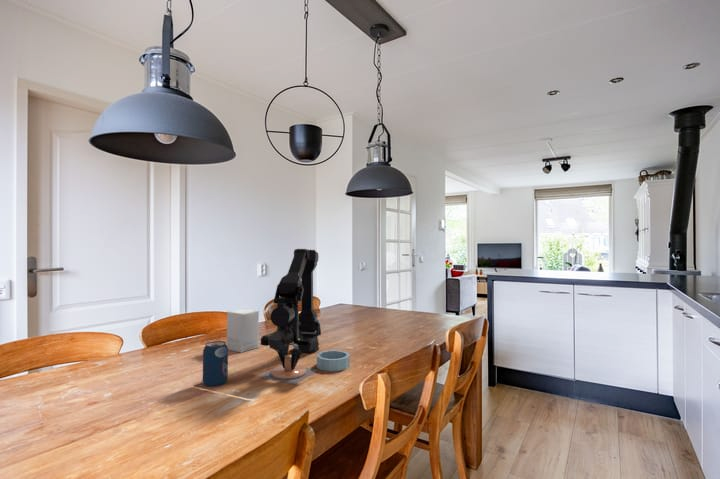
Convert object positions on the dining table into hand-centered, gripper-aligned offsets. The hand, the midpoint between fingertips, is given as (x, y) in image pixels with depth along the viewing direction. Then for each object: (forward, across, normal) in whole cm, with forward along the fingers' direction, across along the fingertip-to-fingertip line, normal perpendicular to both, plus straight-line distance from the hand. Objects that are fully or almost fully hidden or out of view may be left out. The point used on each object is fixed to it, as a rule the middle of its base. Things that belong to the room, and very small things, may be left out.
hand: (288, 368), depth 119 cm
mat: (+2, 0, 0) cm, 2 cm away
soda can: (+2, -15, -16) cm, 22 cm away
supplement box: (+2, -34, +17) cm, 38 cm away
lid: (+1, 0, 0) cm, 1 cm away
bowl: (+2, +9, +13) cm, 16 cm away
